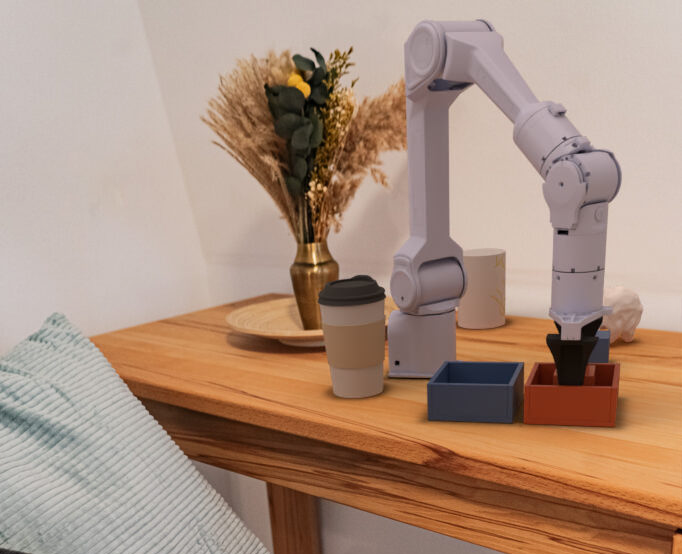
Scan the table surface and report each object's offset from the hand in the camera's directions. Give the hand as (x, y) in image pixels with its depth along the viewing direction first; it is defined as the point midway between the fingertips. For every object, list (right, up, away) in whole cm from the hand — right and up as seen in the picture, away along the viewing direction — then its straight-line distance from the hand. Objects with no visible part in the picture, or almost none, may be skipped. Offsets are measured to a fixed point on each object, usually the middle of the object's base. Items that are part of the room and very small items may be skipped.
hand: (573, 385), depth 100 cm
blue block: (+8, +5, +18) cm, 20 cm away
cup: (-3, +18, +47) cm, 50 cm away
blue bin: (-11, -2, +5) cm, 12 cm away
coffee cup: (-25, +2, +16) cm, 30 cm away
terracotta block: (0, -2, +1) cm, 3 cm away
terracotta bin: (0, -3, +1) cm, 3 cm away
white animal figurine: (+13, +12, +31) cm, 35 cm away
